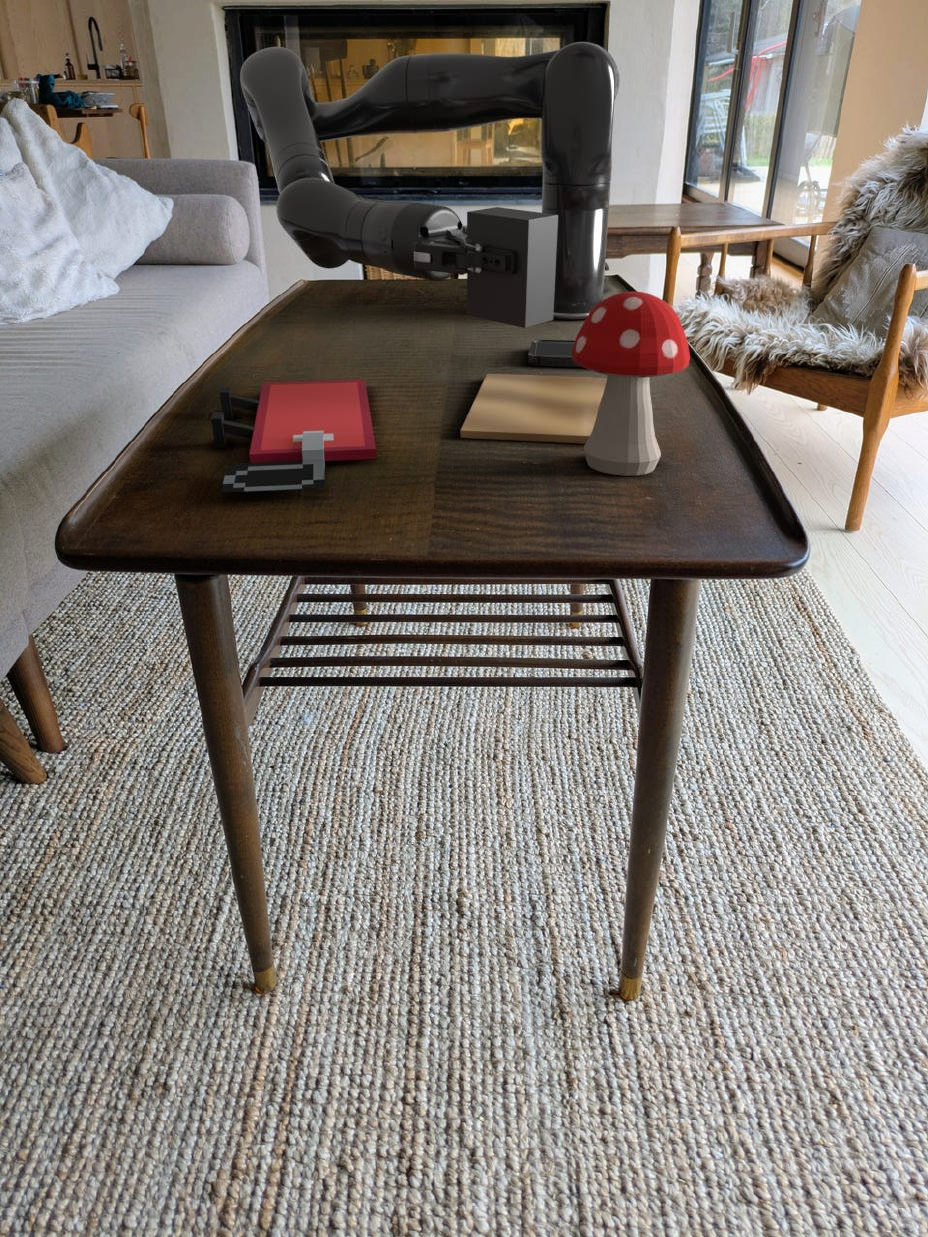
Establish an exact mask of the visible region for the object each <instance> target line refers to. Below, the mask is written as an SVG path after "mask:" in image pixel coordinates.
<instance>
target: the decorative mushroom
mask: <svg viewBox="0 0 928 1237" xmlns="http://www.w3.org/2000/svg"><path fill="white" fill-rule="evenodd" d="M574 341H575V343H574V346H573V350H572V360H573V361H574V362H575V363H576V364H577V365H580V366H582V367H581V368H584V369H587V370H589V371H591V372H594V373H597V374H602V375H605V376H606V378H607V381H606V385H605V390H604V393H603V396H602V399H601V402H600V405H599V409H598V413H597V417H596V421H595V424H594V427H593V430H592V433H591V435H590V437H589V438H588V440H587V442H586V444H584V446H583V453H584V456H585V460H586V463H587V465H588V467H589V468H591V469H592V470H595V471H597V472H601V473H604V474H610V475H615V476H640V475H641V476H642V475H646V474H650V473H652V472H653V471H654V470H656V467H657V464H658V463H659V461H660V458H661V457H662V453H661V449H660V447H659V446H660V445H659V443H658V441H657V438H656V434H655V427H654V415H653V404H652V398H651V386H650V378H654V377H655V378H657V377H662V376H667V375H672V374H675V373H679V372H681V371H684V370H686V368H688V367H689V365H690V360H691V355H690V348H689V341H688V338H687V335H686V333H685V330H684V328H683V324H682V322H681V319H680V317H679V315H678V313H677V312H676V311H675V309H674V308H673V307H672V306H671V305H670V304H669V303H668V302H666V301H665V300H663V299H662V298H660V297H658V296H656V295H653V294H651V293H648V292H644V291H643V292H642V291H634V290H633V291H623V292H619V293H616V294H612V295H610V296H609V297H607V298H604V299H603V301H602V302H600V303H599V304H597V305H596V306H595V307H594V308H593V309H592V310H591V312H590V313H589V314H588V316H587V318H586V319H584V322H583V323H582V326H581V327H580V328H579V331H578V333H577V334H576V338H575V340H574Z"/></svg>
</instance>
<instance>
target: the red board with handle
mask: <svg viewBox="0 0 928 1237" xmlns="http://www.w3.org/2000/svg"><path fill="white" fill-rule="evenodd" d="M219 398H220V405H221V406H220V407H221V411H218V412H216V411H215V412H212V415H211V417H210V421H211V427H212V429H211V430H212V436H213V442H214V443H213V444H214V448H226V446H227V442H228V439H227V435H229V436H235V437H240V438H244V439H249V440H251V442H250V449H249V462H240V463H238V462H237V463H227V464H226V469H225V473H224V476H223V482H222V486H221V488H220V489H221V490H220V493H221V494H222V493H243V492H261V491H262V492H263V491H264V492H265V491H282V490H283V491H285V490H287V491H288V490H304V489H305V490H307V489H325V470H326V462H332V461H358V460H376V459H377V447H376V442H375V434H374V430H373V429H374V428H373V423H372V416H371V410H370V403H369V397H368V390H367V383H366V379H342V380H341V379H339V380H311V381H310V380H308V381H279V382H275V381H274V382H262V385H261V390H260V395H259V399H254V398H250V397H245V396H242V395H237V394H232V389H231V386H221V387H220V389H219ZM234 408H237V409H242V410H247V411H252V412H256V416H255V421H254V425H248V424H243V423H238V422H234V421H230V420H233V418H234V414H235V412H234Z"/></svg>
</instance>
